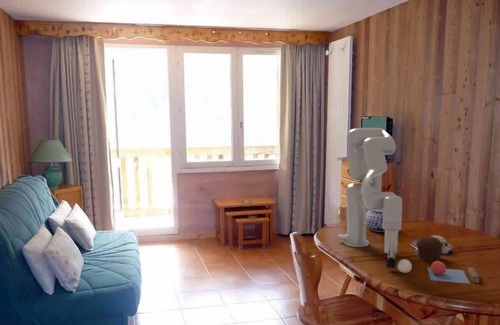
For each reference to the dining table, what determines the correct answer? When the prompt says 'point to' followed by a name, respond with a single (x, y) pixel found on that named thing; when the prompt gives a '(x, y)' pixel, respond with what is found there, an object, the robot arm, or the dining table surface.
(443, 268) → the red ball
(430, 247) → the muffin
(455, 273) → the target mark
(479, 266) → the dining table surface
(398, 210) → the robot arm
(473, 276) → the stopper wall
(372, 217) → the teapot
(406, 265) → the cue ball
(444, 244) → the seashell
